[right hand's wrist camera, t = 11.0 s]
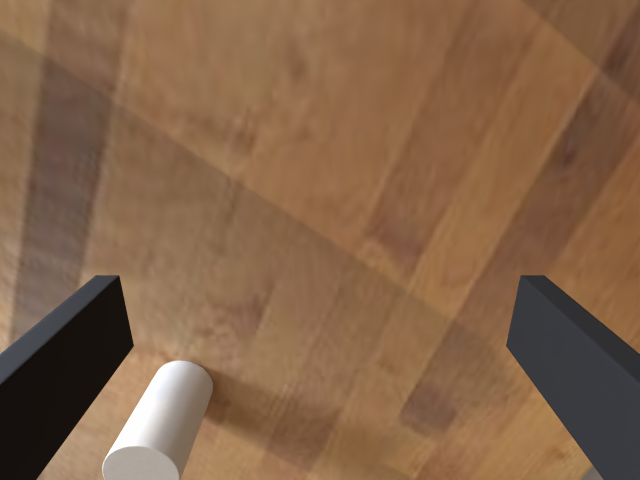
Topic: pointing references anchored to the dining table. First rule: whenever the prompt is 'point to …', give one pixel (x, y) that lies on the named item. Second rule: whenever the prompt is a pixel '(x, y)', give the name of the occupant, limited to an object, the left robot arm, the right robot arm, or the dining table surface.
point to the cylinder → (162, 426)
